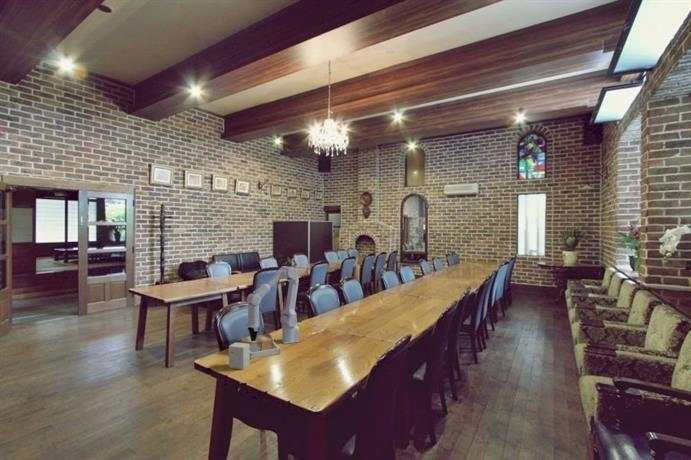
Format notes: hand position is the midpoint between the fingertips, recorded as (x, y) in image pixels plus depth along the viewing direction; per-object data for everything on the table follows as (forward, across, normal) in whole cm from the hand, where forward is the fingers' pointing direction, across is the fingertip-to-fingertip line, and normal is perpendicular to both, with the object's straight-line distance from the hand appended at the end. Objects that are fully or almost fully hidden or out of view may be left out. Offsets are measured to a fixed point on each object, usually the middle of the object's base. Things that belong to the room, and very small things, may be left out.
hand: (253, 340), depth 182 cm
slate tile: (+4, +3, 0) cm, 5 cm away
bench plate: (+5, -6, +4) cm, 9 cm away
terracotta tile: (+2, +2, +6) cm, 7 cm away
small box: (+5, +19, -10) cm, 22 cm away
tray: (+5, +6, +4) cm, 9 cm away
